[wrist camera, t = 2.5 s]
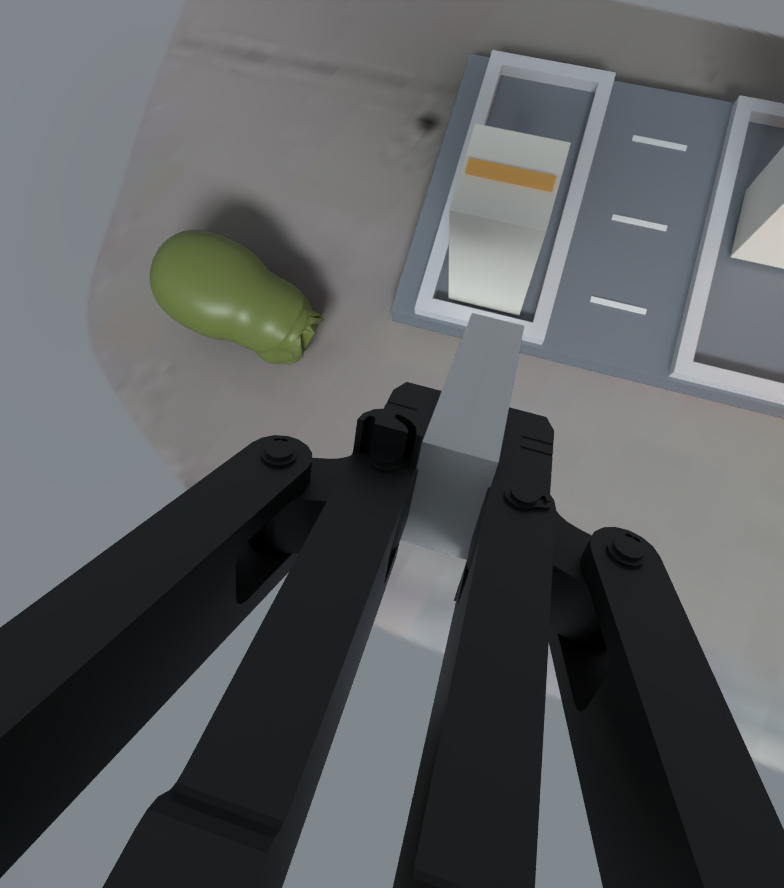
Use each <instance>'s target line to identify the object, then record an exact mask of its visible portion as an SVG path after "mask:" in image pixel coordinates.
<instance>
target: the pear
mask: <svg viewBox="0 0 784 888" xmlns="http://www.w3.org/2000/svg"><path fill="white" fill-rule="evenodd" d="M150 285H151V290H152V293H153V295H154V297H155V299H156V301H157V303H158V304H159V305H160V307H161V308H162V309H163V310H164V311H165V312H166V313H167V314H168V315H169V316H170V317H171V318H173V319H174V320H175V321H177V322H178V323H180V324H181V325H183V326H184V327H186V328H188V329H190V330H192V331H194V332H196V333H198V334H201V335H203V336H206V337H209V338H214V339H220V340H230V341H233V342H235V343H238V344H240V345H242V346H244V347H246V348H248V349H250V350H253V351H255V352H256V353H257V354H258V355H259V356H260V357H261V358H262V359H263V360H265V361H266V362H269V363H272V364H278V363H286V364H291V363H294V362H297V361H299V359H300V358H302V357H303V351H304V350H306V347H307V345H308V342H310V340H311V339H310V338H312V337H313V336H314V335H313V334H314V333H315V331H316V327H317V328H318V326H317V325H319V323H320V322H321V321H322V320H323V318H321V317H320V316H321V314H319V313H318V312H316V311H314V310H313V309H312V307H311V303H310V301H309V300H308V298H307V297H306V296H305V295H303V294H302V292H301V291H300V290H299V289H298V288H297V287H296V286H295V285H293V284H292V283H290V282H288V281H287V280H285V279H282V278H281V277H279V276H277V275H275V274H274V273H272V272H271V271H270V270H269V269H268V268H267V267H266V266H265V265H264V263H263V262H262V261H261V260H260V259H259V258H258V257H257V256H256V255H255V254H254V253H253V252H252V251H251V250H249V249H248V248H246V247H245V246H243V245H241V244H240V243H238V242H236V241H234V240H232V239H229V238H227V237H224V236H221V235H218V234H215V233H211V232H207V231H200V230H189V231H183V232H180V233H178V234H175V235H174V236H172V237H170V238H169V239H168V240H166V241H165V242H164V243H163V244H162V245H161V247H160V248H159V249H158V251H157V252H156V254H155V256H154V258H153V261H152V264H151V269H150Z"/></svg>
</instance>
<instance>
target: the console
mask: <svg viewBox="0 0 784 888" xmlns="http://www.w3.org/2000/svg"><path fill="white" fill-rule="evenodd" d="M615 75H616V73H615V72H610V71H604V70H599V69H594V68H588V67H583V66H577V65H572V64H566V63H561V62H555V61H550V60H545V59H539V58H534V57H528V56H523V55H517V54H512V53H506V52H501V51H495V50H492V53H491V56H490V57H485V56H479V55H474V54H469V57H468V60H467V63H466V67H465V70H464V73H463V76H462V80H461V83H460V86H459V90H458V93H457V96H456V99H455V103H454V106H453V109H452V112H451V116H450V119H449V122H448V125H447V129H446V132H445V135H444V138H443V142H442V145H441V148H440V151H439V155H438V158H437V161H436V164H435V168H434V171H433V174H432V177H431V181H430V184H429V187H428V190H427V194H426V197H425V200H424V203H423V207H422V210H421V213H420V216H419V220H418V223H417V226H416V229H415V233H414V236H413V239H412V242H411V246H410V249H409V252H408V255H407V259H406V262H405V265H404V268H403V272H402V275H401V278H400V281H399V285H398V288H397V291H396V294H395V298H394V301H393V304H392V308H391V316H392V320H393V321H396V322H400V323H404V324H408V325H412V326H416V327H420V328H424V329H428V330H432V331H436V332H440V333H444V334H448V335H452V336H456V337H460V338H462V337H463V335H464V332H465V330H466V327H467V324H468V322H469V319H470V316H471V314H472V313H475V314H479V315H483V316H487V317H491V318H495V319H499V320H503V321H507V322H511V323H515V324H519V325H524V331H523V336H522V341H521V347H520V352H519V353H523V354H527V355H531V356H535V357H539V358H543V359H547V360H551V361H555V362H559V363H563V364H567V365H571V366H575V367H579V368H583V369H587V370H591V371H595V372H599V373H603V374H607V375H611V376H615V377H619V378H623V379H627V380H631V381H635V382H639V383H643V384H647V385H651V386H655V387H659V388H663V389H667V390H671V391H675V392H679V393H683V394H687V395H691V396H695V397H699V398H703V399H707V400H711V401H715V402H719V403H723V404H727V405H731V406H735V407H739V408H743V409H747V410H751V411H755V412H759V413H763V414H767V415H771V416H775V417H779V418H783V419H784V269H782V268H778V267H773V266H768V265H764V264H759V263H755V262H750V261H746V260H741V259H736V258H732V257H730V256H731V252H732V247H733V243H734V239H735V234H736V230H737V226H738V221H739V217H740V212H741V208H742V204H743V199H744V195H745V191H746V189H747V188H748V187H749V186H750V185H751V184H752V182H753V181H754V180H755V179H756V178H757V177H758V175H759V174H760V173H761V172H762V171H763V170H764V168H765V167H766V166H767V165H768V164H769V162H770V161H771V160H772V159H773V158H774V157H775V155H776V154H777V153H778V152H779V151H780V150H781V148H782V147H783V146H784V103H779V102H773V101H768V100H762V99H757V98H752V97H746V96H741V95H739V97H738V98H737V100H736V101H735V103H733V102H727V101H722V100H717V99H711V98H706V97H700V96H695V95H690V94H684V93H679V92H673V91H668V90H663V89H657V88H652V87H647V86H641V85H636V84H630V83H625V82H620V81H614V79H615ZM475 124H480V125H485V126H490V127H495V128H500V129H505V130H510V131H515V132H520V133H525V134H530V135H535V136H540V137H545V138H550V139H555V140H560V141H565V142H570V143H571V144H570V148H569V151H568V155H567V158H566V162H565V166H564V169H563V173H562V177H561V180H560V184H559V187H558V191H557V195H556V198H555V202H554V206H553V209H552V213H551V216H550V220H549V224H548V227H547V231H546V234H545V237H544V240H543V243H542V247H541V250H540V253H539V256H538V259H537V262H536V265H535V268H534V271H533V275H532V278H531V281H530V284H529V287H528V290H527V293H526V296H525V299H524V302H523V306H522V309H521V312H520V315H519V316H518V315H514V314H510V313H506V312H502V311H498V310H493V309H489V308H485V307H481V306H477V305H473V304H469V303H465V302H460V301H456V300H452V299H449V209H450V206H451V202H452V199H453V196H454V193H455V189H456V186H457V183H458V179H459V176H460V173H461V169H462V166H463V163H464V159H465V156H466V153H467V149H468V146H469V143H470V139H471V136H472V133H473V129H474V126H475Z"/></svg>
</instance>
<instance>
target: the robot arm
mask: <svg viewBox="0 0 784 888" xmlns="http://www.w3.org/2000/svg"><path fill="white" fill-rule="evenodd" d="M523 331H524V325H519V324H515V323H511V322H507V321H503V320H499V319H495V318H491V317H487V316H483V315H479V314H475V313H472V314H471V316H470V319H469V322H468V324H467V327H466V330H465V332H464V335H463V337H462V340H461V343H460V345H459V348H458V350H457V353H456V356H455V358H454V361H453V363H452V366H451V369H450V371H449V374H448V376H447V379H446V382H445V384H444V387H443V389H442V391H439V390H435V389H432V388H428V387H424V386H420V385H416V384H413V383H409V382H406V383H404V384H402V385H401V386H399V387H397V388H396V389H394V390H393V392H392V394H391V396H390V398H389V400H388V402H387V403H386V405H385V407H384V409H373V410H371V411H368V412H365V413H363V414H362V415H361V416H360V417H359V418H358V420H357V427H356V435H355V442H354V449H353V453H352V455H351V456H348V457H344V458H339V459H323V458H312V452H311V451H310V449H309V447H308V446H307V445H306V444H304V443H303V442H301V441H300V440H298V439H295V438H292V437H289V436H278V435H273V436H268V437H262V438H260V439H258V440H256V441H254V442H252V443H251V444H249V445H248V446H247V447H245V448H244V449H243V450H241V451H240V452H239V453H237V454H236V455H234V456H233V457H232V458H230V459H229V460H228V461H226V462H225V463H224V464H222V465H221V466H219V467H218V468H217V469H215V470H214V471H213V472H211V473H210V474H209V475H207V476H206V477H205V478H203V479H202V480H200V481H199V482H198V483H196V484H195V485H194V486H192V487H191V488H190V489H188V490H187V491H185V492H184V493H183V494H181V495H180V496H179V497H177V498H176V499H175V500H173V501H172V502H171V503H169V504H168V505H166V506H165V507H164V508H162V509H161V510H160V511H158V512H157V513H156V514H154V515H153V516H152V517H150V518H149V519H147V520H146V521H145V522H143V523H142V524H141V525H139V526H138V527H136V528H135V529H134V530H132V531H131V532H130V533H128V534H127V535H126V536H124V537H123V538H122V539H120V540H119V541H118V542H116V543H115V544H113V545H112V546H111V547H109V548H108V549H107V550H105V551H104V552H102V553H101V554H100V555H98V556H97V557H96V558H94V559H93V560H92V561H90V562H89V563H88V564H86V565H85V566H83V567H82V568H81V569H79V570H78V571H77V572H75V573H74V574H73V575H71V576H70V577H68V578H67V579H66V580H64V581H63V582H62V583H60V584H59V585H58V586H56V587H55V588H53V589H52V590H51V591H50V592H48V593H47V594H45V595H44V596H43V597H41V598H40V599H39V600H38V601H36V602H34V603H33V604H32V605H30V606H29V607H28V608H26V609H25V610H24V611H22V612H21V613H19V614H18V615H17V616H15V617H14V618H13V619H11V620H10V621H9V622H7V623H6V624H4V625H3V626H2V627H0V878H1V877H2V876H3V875H4V874H5V873H6V872H7V871H8V869H9V868H10V867H11V866H12V865H13V864H14V863H15V862H16V861H17V860H18V859H19V858H20V857H21V856H22V855H23V854H24V852H25V851H26V850H27V849H28V848H29V847H30V846H31V845H32V844H33V843H34V842H35V841H36V840H37V839H38V838H39V837H40V836H41V834H42V833H43V832H44V831H45V830H46V829H47V828H48V827H49V826H50V825H51V824H52V823H53V822H54V821H55V819H57V817H58V816H59V815H60V814H61V813H62V812H63V811H64V810H65V809H66V808H67V807H68V806H69V805H70V804H71V803H72V801H73V800H74V799H75V798H76V797H77V796H78V795H79V794H80V793H81V792H82V791H83V790H84V789H85V788H86V787H87V786H88V785H89V783H90V782H91V781H92V780H93V779H94V778H95V777H96V776H97V775H98V774H99V773H100V772H101V771H102V770H103V768H104V767H106V765H107V764H108V763H109V762H110V761H111V760H112V759H113V758H114V757H115V756H116V755H117V754H118V753H119V752H120V751H121V749H122V748H123V747H124V746H125V745H126V744H127V743H128V742H129V741H130V740H131V739H132V738H133V737H134V736H135V735H136V734H137V733H138V731H139V730H140V729H141V728H142V727H143V726H144V725H145V724H146V723H147V722H148V721H149V720H150V719H151V718H152V717H153V715H154V714H155V713H156V712H157V711H158V710H159V709H160V708H161V707H162V706H163V705H164V704H165V703H166V702H167V701H168V700H169V698H171V696H172V695H173V694H174V693H175V692H176V691H177V690H178V689H179V688H180V687H181V686H182V685H183V684H184V683H185V682H186V681H187V679H188V678H189V677H190V676H191V675H192V674H193V673H194V672H195V671H196V670H197V669H198V668H199V667H200V666H201V665H202V664H203V662H204V661H205V660H206V659H207V658H208V657H209V656H210V655H211V654H212V653H213V652H214V651H215V650H216V649H217V648H218V647H219V645H220V644H221V643H222V642H223V641H224V640H225V639H226V638H227V637H228V636H229V635H230V634H231V633H232V632H233V631H234V630H235V628H236V627H237V626H238V625H239V624H240V623H241V622H242V621H243V620H244V619H245V618H246V617H247V616H248V615H249V614H250V613H251V611H252V610H253V609H254V608H255V607H256V606H257V605H258V604H259V603H260V602H261V601H262V600H263V599H264V598H265V597H266V596H267V594H268V593H269V592H270V591H271V590H272V589H273V588H274V587H275V586H276V585H277V584H278V583H279V582H280V581H281V580H282V578H284V576H285V575H286V574H287V573H288V572H289V573H288V575H287V577H286V579H285V581H284V583H283V585H282V586H281V588H280V590H279V592H278V594H277V596H276V598H275V600H274V601H273V603H272V605H271V607H270V609H269V611H268V613H267V615H266V616H265V618H264V620H263V622H262V624H261V626H260V628H259V630H258V631H257V633H256V635H255V637H254V639H253V641H252V643H251V645H250V646H249V648H248V650H247V652H246V654H245V656H244V658H243V660H242V661H241V664H240V665H239V667H238V669H237V671H236V673H235V675H234V676H233V678H232V681H231V682H230V684H229V686H228V688H227V690H226V692H225V693H224V695H223V697H222V699H221V701H220V703H219V705H218V706H217V708H216V710H215V712H214V714H213V716H212V718H211V720H210V722H209V723H208V725H207V727H206V729H205V731H204V733H203V735H202V737H201V739H200V741H199V742H198V744H197V746H196V748H195V750H194V752H193V753H192V755H191V757H190V759H189V761H188V763H187V765H186V766H185V768H184V770H183V772H182V774H181V775H180V777H179V779H178V780H177V782H176V783H175V785H174V786H173V787H172V788H171V790H169V791H167V792H165V793H164V794H162V795H160V796H158V797H157V799H156V800H155V801H154V802H153V803H152V804H151V806H150V807H149V808H148V809H147V811H146V812H145V814H144V816H143V817H142V819H141V820H140V822H139V823H138V825H137V827H136V828H135V830H134V832H133V834H132V836H131V837H130V839H129V841H128V843H127V844H126V846H125V848H124V850H123V852H122V853H121V855H120V857H119V859H118V861H117V862H116V864H115V866H114V868H113V870H112V871H111V873H110V875H109V877H108V879H107V880H106V882H105V884H104V886H103V888H282V886H283V883H284V881H285V877H286V875H287V872H288V869H289V866H290V863H291V860H292V857H293V854H294V852H295V848H296V846H297V843H298V840H299V837H300V834H301V831H302V828H303V826H304V823H305V820H306V817H307V814H308V811H309V808H310V805H311V802H312V799H313V797H314V794H315V791H316V788H317V785H318V782H319V779H320V776H321V773H322V770H323V768H324V765H325V762H326V759H327V756H328V753H329V750H330V747H331V744H332V742H333V739H334V735H335V733H336V730H337V727H338V724H339V721H340V718H341V715H342V713H343V710H344V707H345V704H346V701H347V698H348V695H349V692H350V689H351V686H352V684H353V681H354V678H355V675H356V672H357V669H358V666H359V663H360V660H361V657H362V655H363V652H364V649H365V646H366V643H367V640H368V637H369V634H370V631H371V629H372V626H373V623H374V620H375V617H376V614H377V611H378V608H379V605H380V603H381V600H382V597H383V594H384V591H385V588H386V585H387V582H388V579H389V576H390V574H391V571H392V568H393V565H394V562H395V559H396V555H397V551H398V546H399V542H400V539H401V540H402V541H405V542H409V543H412V544H416V545H419V546H422V547H426V548H429V549H432V550H436V551H439V552H442V553H446V554H449V555H453V556H456V557H459V558H463V559H466V560H467V562H466V565H465V568H464V571H463V574H462V577H461V580H460V583H459V586H458V589H457V592H456V596H455V599H454V601H456V604H455V609H454V613H453V618H452V622H451V627H450V631H449V636H448V640H447V645H446V649H445V654H444V658H443V663H442V667H441V672H440V676H439V682H438V686H437V690H436V695H435V699H434V704H433V708H432V713H431V717H430V722H429V726H428V731H427V735H426V740H425V744H424V749H423V753H422V758H421V762H420V767H419V771H418V776H417V781H416V785H415V790H414V794H413V798H412V803H411V807H410V812H409V816H408V821H407V826H406V830H405V835H404V839H403V843H402V848H401V853H400V857H399V861H398V866H397V871H396V875H395V880H394V884H393V888H535V874H536V856H537V838H538V820H539V803H540V785H541V767H542V749H543V731H544V713H545V695H546V678H547V660H548V642H549V645H550V649H551V654H552V658H553V663H554V668H555V672H556V677H557V681H558V686H559V690H560V695H561V699H562V703H563V708H564V713H565V717H566V722H567V727H568V731H569V735H570V740H571V745H572V749H573V754H574V758H575V763H576V767H577V772H578V776H579V781H580V786H581V790H582V794H583V799H584V803H585V808H586V812H587V817H588V822H589V826H590V831H591V835H592V840H593V844H594V849H595V854H596V858H597V863H598V867H599V872H600V876H601V881H602V885H603V888H784V829H783V827H782V825H781V823H780V820H779V818H778V816H777V814H776V812H775V809H774V807H773V805H772V803H771V801H770V798H769V796H768V794H767V792H766V789H765V787H764V785H763V783H762V781H761V778H760V776H759V774H758V772H757V770H756V768H755V765H754V763H753V761H752V758H751V756H750V754H749V752H748V750H747V747H746V745H745V743H744V741H743V739H742V736H741V734H740V732H739V730H738V728H737V725H736V723H735V721H734V719H733V717H732V714H731V712H730V710H729V708H728V706H727V703H726V701H725V699H724V697H723V694H722V692H721V690H720V688H719V686H718V683H717V681H716V679H715V677H714V675H713V672H712V670H711V668H710V666H709V664H708V661H707V659H706V657H705V655H704V653H703V650H702V648H701V646H700V644H699V641H698V639H697V637H696V635H695V633H694V630H693V628H692V626H691V624H690V622H689V619H688V617H687V615H686V613H685V611H684V608H683V606H682V604H681V602H680V600H679V597H678V595H677V593H676V591H675V588H674V586H673V584H672V582H671V580H670V577H669V575H668V573H667V571H666V569H665V566H664V564H663V562H662V560H661V558H660V556H659V554H658V553H657V552H656V550H655V549H654V547H653V546H652V545H651V544H650V543H648V542H647V541H646V540H645V539H644V538H642V537H641V536H639V535H637V534H635V533H633V532H631V531H629V530H625V529H621V528H617V527H603V528H601V529H599V530H597V531H595V532H594V533H593V535H592V536H591V535H590V534H588V533H586V532H584V531H582V530H580V529H578V528H576V527H575V526H573V525H572V524H570V523H568V522H567V521H566V520H565V519H563V518H562V517H561V516H560V515H559V514H558V512H557V511H556V507H555V502H554V499H553V498H552V497H551V495H550V486H551V471H552V455H553V440H554V430H553V428H552V426H551V424H550V423H549V421H548V419H547V417H544V416H540V415H536V414H532V413H529V412H525V411H521V410H517V409H513V408H510V407H509V405H510V399H511V394H512V389H513V384H514V378H515V373H516V368H517V363H518V357H519V352H520V347H521V341H522V336H523Z"/></svg>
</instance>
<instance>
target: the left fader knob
mask: <svg viewBox="0 0 784 888" xmlns="http://www.w3.org/2000/svg"><path fill="white" fill-rule="evenodd" d="M570 144H571V143H570V142H565V141H560V140H555V139H550V138H545V137H540V136H535V135H530V134H525V133H520V132H515V131H510V130H505V129H500V128H495V127H490V126H485V125H480V124H475V126H474V129H473V133H472V136H471V139H470V143H469V146H468V149H467V153H466V156H465V159H464V163H463V166H462V169H461V173H460V176H459V179H458V183H457V186H456V189H455V193H454V196H453V199H452V202H451V206H450V209H449V299H452V300H456V301H460V302H465V303H469V304H473V305H477V306H481V307H485V308H489V309H493V310H498V311H502V312H506V313H510V314H514V315H518V316H519V315H520V312H521V309H522V306H523V302H524V299H525V296H526V293H527V290H528V287H529V284H530V281H531V278H532V275H533V271H534V268H535V265H536V262H537V259H538V256H539V253H540V250H541V247H542V243H543V240H544V237H545V234H546V231H547V227H548V224H549V220H550V216H551V213H552V209H553V206H554V202H555V198H556V195H557V191H558V187H559V184H560V180H561V177H562V173H563V169H564V166H565V162H566V158H567V155H568V151H569V148H570Z"/></svg>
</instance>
